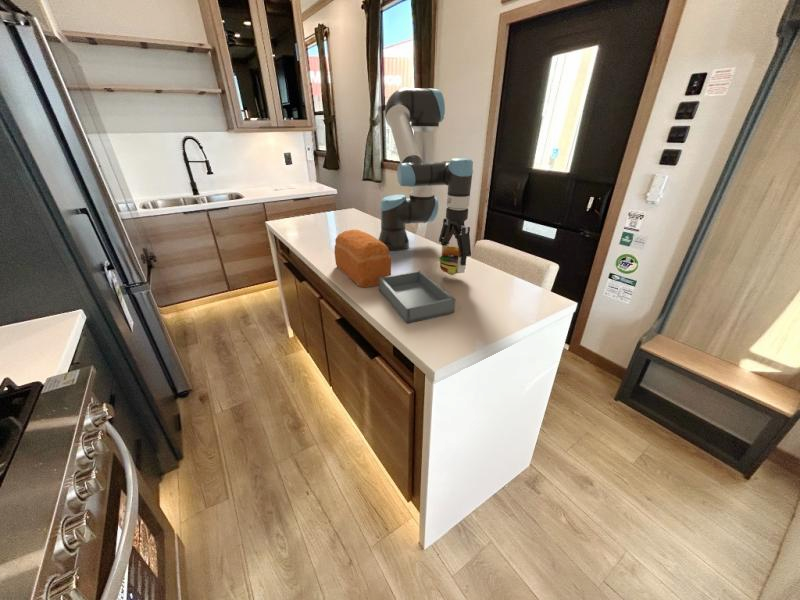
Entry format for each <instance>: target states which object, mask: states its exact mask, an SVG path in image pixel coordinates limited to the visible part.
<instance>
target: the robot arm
mask: <svg viewBox="0 0 800 600" xmlns="http://www.w3.org/2000/svg"><path fill="white" fill-rule="evenodd" d="M445 114H446V105H445V98H444V95H443V93H442V91H441V90H440V89H436V88H430V87H428V88H427V87H426V88H421V87H419V88H418V87H417V88H415V87H414V88H413V87H410V88H409V87H401V88H399V89H397V90H395V91H394V92H393V93H392V94H391V95H390V96H389V98H388V100H387V101H386V105H385V108H384V118H385V121H386V124H387V125H388V127H390V130H391V133H392V137H393V140H394V145H395V148H396V152H397V155H398V156H397V157H398V158H399V162H400V163H399V164H398V166H397V170H396V174H397V175H396V176H397V183H398V185H399V186H400V187H409V188H410V187H411V188H412V190H411V191H410V192H409V197H406V195H405V194H392V195H388V196H385V197H383V198H381V201H380V207H379V211H380V227H381V228H380V234H379V236H378V238H377V239H378V240H379V241H381V242H382V243H384V244H385V245H386V246H387V247H388V249H389V251H401V250H406V249H407V248H409V246H410V240H409V237H408V234H407V231H406V225H407V224H409V225H410V224H421V223H423V224H426V223H431V222H434V220H435V219H436V218H437V215H438V213H439V200H438V197H437V196H436V195H435V192H434V191H433V190H432V188H433V187H434V186H447V199H446V207H447V208H446V209H445V210H446V211H445V218H443V221H442V227H441V231H440V235H439V237H438V242H439V243H440V245H441V253H442V252H443V251H444V250H445V248H447V247H450V241H451V239H452V238H453V235H454V238H455V239H456V243H457V248H459V252H460V255H459V256H458V267H457V274H458V275H459V274H463V273H465V269H466V266H467V257H471V255H472V249H471V237H470V231H471V227H470V226H465V222H466V221H467V220H468V219H469V207H470V200H471V190H472V189H471V188H472V180H473V173H474V169H473V167H474V166H473V165H474V161H473V159H471V158H465V157H455V158H453V157H452V159H450V160H447V161H441V162H434V153H435V137H436V136H435V134H436V131H437V129H438V128H440V126H439V124H440V123H441V122H443V120H444V119H445ZM413 131H414V132H413ZM441 256H442V254H441ZM441 256H440V257H441ZM465 265H466V266H465Z"/></svg>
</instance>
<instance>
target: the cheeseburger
mask: <svg viewBox="0 0 800 600" xmlns="http://www.w3.org/2000/svg"><path fill="white" fill-rule="evenodd" d="M441 255H442V256H439V257H438V259H439V268H440V271H442V272H444V273H446V274H448V275H449V276H454V275H457V274H458V273H457V267H458V256H459V255H460V252H459V248H458V246H449V247H447V248H445V250H444V251H443V252H442V251H441ZM466 266H467V264H466V265H465V267H466Z"/></svg>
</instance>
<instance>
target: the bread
mask: <svg viewBox="0 0 800 600" xmlns="http://www.w3.org/2000/svg"><path fill="white" fill-rule="evenodd" d="M378 239H379V238H376V237H375V236H373V235H371V234H370V233H367V232H365V231H361V230H359V229H349V230H345V231H343V232H341V233H339V234H338V235H337V236H336V237H335V239H334V240H335V245H334V258H335V260H334V261H335V266H336V267H337V268H338V269H339V270H340V271H341V272H343V274H345V275H346V276H347V277H348V278H350V279H351V280H352V281H353V282H354V283H355V284H357V285H358V287H362V288H369V287H375V286H379V277H384V276H390V275H392V257H391V256H390V250H389V249H388V247H387V246H386V245H385V244H384V243H382V242H381V241H379V240H378Z"/></svg>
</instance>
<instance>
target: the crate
mask: <svg viewBox="0 0 800 600" xmlns="http://www.w3.org/2000/svg"><path fill="white" fill-rule="evenodd" d="M378 290H379V292H380V293H381V294H382V296H383V297H384V298H385V300H387V302H388V303H389V304H390V306H392V308H393V309H394V310H395V311H396V313H397V314H398V315H399V316H400V318H401V319H402V320H403V322H404V323H405V324H406V325H408V324H412V323H417V322H420V321H425V320H429V319H434V318H438V317H443V316H447V315H451V314H455V305H456V298H455V297H453V296H452V295H451V294H450V293H449V292H447V291H446V290H445V289H444V288H443V287H442V286H440V285H439V284H438V283H436V282H435V281H434V280H432V279H431V278H430V277H429V276H428V275H427V274H426V273H424V272H423V271H422V270H416V271H409V272H403V273H397V274H391V275H390V276H384V277H379V285H378Z"/></svg>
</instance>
